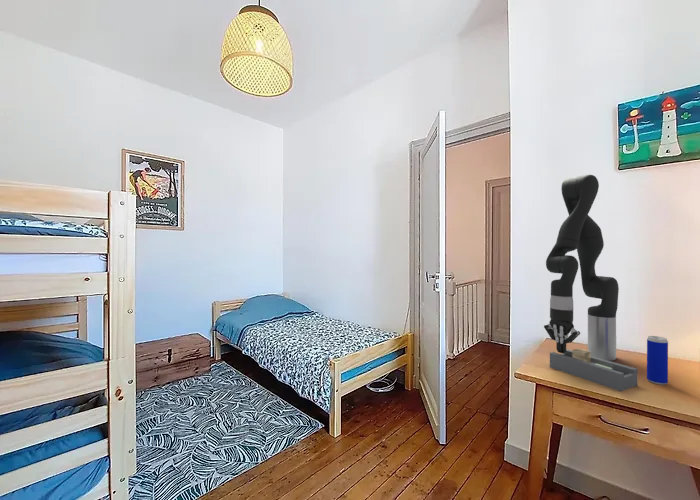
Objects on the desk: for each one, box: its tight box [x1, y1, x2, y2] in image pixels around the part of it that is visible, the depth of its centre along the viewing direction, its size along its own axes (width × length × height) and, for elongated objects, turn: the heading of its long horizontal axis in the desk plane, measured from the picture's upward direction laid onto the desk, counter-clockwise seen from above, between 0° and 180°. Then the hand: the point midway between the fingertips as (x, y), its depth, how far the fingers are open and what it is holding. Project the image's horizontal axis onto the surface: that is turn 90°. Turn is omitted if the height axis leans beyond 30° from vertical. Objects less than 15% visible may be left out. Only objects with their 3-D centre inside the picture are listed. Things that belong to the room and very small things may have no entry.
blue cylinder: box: [646, 335, 669, 386], centre depth 110 cm, size 5×5×15 cm
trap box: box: [549, 348, 639, 392], centre depth 116 cm, size 10×23×6 cm, turn 25°
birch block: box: [572, 348, 591, 363], centre depth 119 cm, size 4×4×4 cm
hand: (561, 352), depth 125 cm, fingers closed
